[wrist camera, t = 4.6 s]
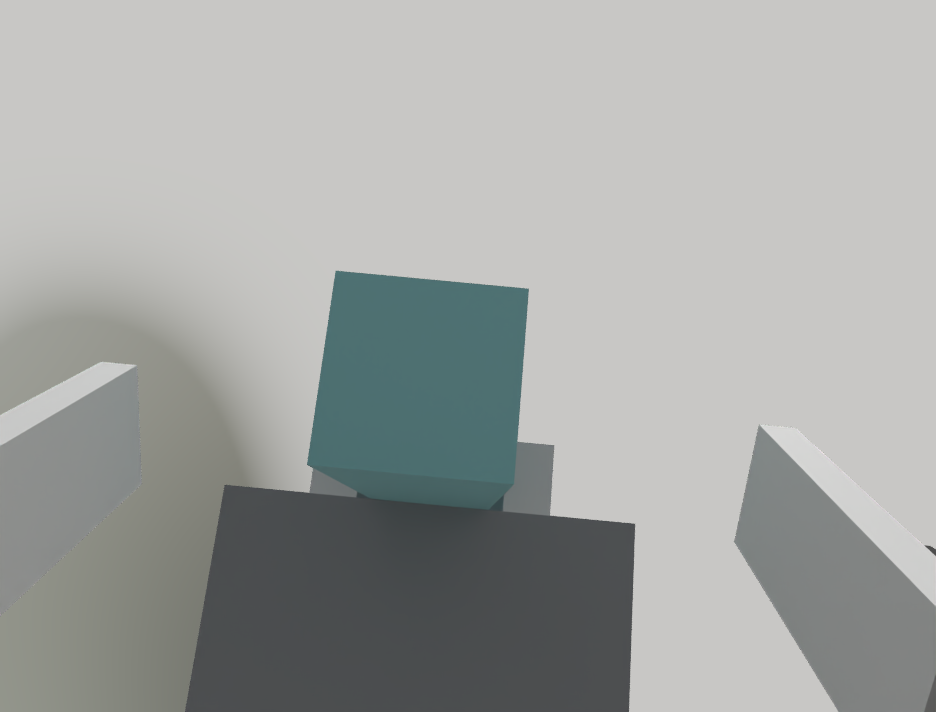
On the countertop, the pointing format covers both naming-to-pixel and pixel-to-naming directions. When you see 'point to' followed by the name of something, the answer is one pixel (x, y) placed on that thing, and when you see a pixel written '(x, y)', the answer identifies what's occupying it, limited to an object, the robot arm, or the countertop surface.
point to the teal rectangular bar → (421, 389)
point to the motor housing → (414, 603)
